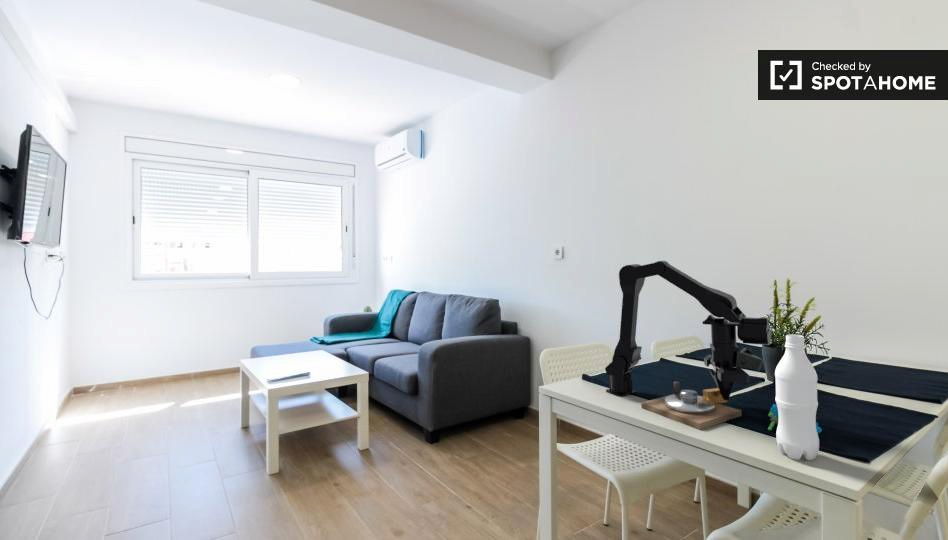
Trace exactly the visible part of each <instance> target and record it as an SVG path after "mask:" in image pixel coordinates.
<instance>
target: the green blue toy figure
mask: <svg viewBox="0 0 948 540" xmlns="http://www.w3.org/2000/svg"><path fill="white" fill-rule="evenodd" d="M767 416H768V417H770V419H769V421H770V424H769V426H768V428H767V430H768V431H770V430H771V431H772V430H773V428H774V426H775V424H776V425H778V420H779V416H778V407H777V404H775V403H773V405H772V406H771V407H770V409H769V412H768V414H767ZM816 430H817V434H818V435H819V434H821V432H822V431H823V429H822V427H820V426H819V423H818V422H817V421H816Z"/></svg>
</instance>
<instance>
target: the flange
mask: <svg viewBox="0 0 948 540" xmlns="http://www.w3.org/2000/svg"><path fill="white" fill-rule="evenodd" d="M680 392H681V394H674V393H673V394H674V395H673V394H669V395H670V396H669V395H666V396H667V397H666V398H665V405H666V406H667V407H668V408H670V409H672V410H675V411H679V412H683V413H691V414H703V413H709V412H712V411H714V409H715V404H717V403H719V404H723V403H728V401H729V400H724V399H723V397H722V395H721V393H720V391H719V389H718V387H716V388H708V389H702V396H701V395H698V392H697V391H696V390H693V389H680Z"/></svg>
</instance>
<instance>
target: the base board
mask: <svg viewBox="0 0 948 540" xmlns="http://www.w3.org/2000/svg"><path fill="white" fill-rule="evenodd" d="M680 386H681V383H680V381H676V380H675V381H673V394H672V395H674V394H681V387H680ZM670 395H671V394H669V395H665V396H662V397H658V398H654V399H650V400H646V401H642V402H641V403H640V404H641V409H643V410H646V411H648V412H652V413H654V414H656V415H660V416H662V417H664V418H668V419H670V420H673V421H675V422H679V423H681V424H683V425H686V426H689V427H691V428H694V429H697V430H702V429H706V428H709V427H712V426H715V425H719V424H721V423H722V424H723V423H724V422H727V420H728V421H730V420H729V419H731V420H734V419H737V418H740V417H742V410H741V409H739V408H735V407H731V406H730V405H729V406H728V405H725V404H723V403H717V404H715V409H714V411H712V412H709V413H703V414H691V413H683V412H679V411H675V410H672V409H670V408H668V407H667V406H666V405H665V398H666V397H667V396H670ZM733 418H734V419H733Z"/></svg>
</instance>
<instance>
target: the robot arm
mask: <svg viewBox="0 0 948 540" xmlns="http://www.w3.org/2000/svg"><path fill="white" fill-rule="evenodd" d="M654 276H660V277H661V278H662V279H664V280H665V281H666V282H669V283H670V284H672V285H673V286H675V287H677V288H678V289H680V290H682V291H683V292H685V293H686V294H688V295H689V296H691V297H693V298H694V299H695V300H696V301H698V303H699V304H700V305H701V307H703V309H705V310H706V311H707V312H709V315H707V318H706V319H704V320H703V321H702V324H703V325H709V326H710V329H711V331H710V332H711V334H710V335H711V343H709V348H710V349H711V354H707V355H706V356H705V357H704V358H703V362H704V363H703V364H704V365H705V367H710V365H711V366H712V369H711V370H709V373H710V374H711V376H712V379H713V380H714V383H715V385H716V388H718V389H719V391H720V393H721V395H722V397H723V399H724V400H728V401H729V399H730V396H731V392H732V390H733V386H734V383H738V384H739V383H740V384H747V383H750V375H749V374H748V373H747V372H746V371H745V370H744V369H743V368H742V366H743V367H746V368H749V369H753V371H757V372H760V370H761V367H762V364H763V362H764V360H763V358H760V357H759V356H758V355H755V354H753V351H752V350H751V349H750V348H746V347H743V348H742V349H741V348H740V347H739V346H738V345H737V340H739V341H741V342H742V343H743V344H748V345H749V344H752V345H761V346H762V345H764V346H765V345H766V346H769V345H771V340H772V329H771V328H770V322H769V317H748V316H746V314H745V313H744V312H743V311H742V310H741V308H739V306H738V304H737V299H736V298H735V297H734V296H733V295H732V294H730V293H726V292H724V291H722V290H720V289H716V288H712V287H710V286H708V285H705V284H704V283H701V282H700V281H698V280H696V279H695V278H693V277H692V276H690V275H688V274H687V273H684V272H683V271H681V270H680V269H678V268H677V267H675V266H673V265H671V264H670V263H669V262H668V261H667V260H658V261H655V262H651V263H648V264H643V265H641V264H639V263H635V264H627V265H624V266H622V267H621V268H620V269H619V272H618V280H619V281H618V282H619V286H620V290H621V293H622V303H621V317H620V329H619V340H618V341H617V345H616V346H615V349H614V351H613V355H612V361H611V362H610V363H609V364H607V366H605V367H604V370H605V372H606V376H607V375H608V377H609V380H608V381H609V383H608V384H609V388H608V389H607V388H606V389H605V392H606V393H609V394H612V395H615V396H617V397H624V396H628V395H632V394H636V393H637V392H636V390H633V379H632V373H630V372H632V371H633V370H634V367H635V366H636V365H638V363H639V362H640V360H642V356H641V353H642V348H643V347H642V346H640V345H639V346H638V345H637V342H636V333H637V325H638V324H637V322H638V310H639V309H638V308H639V300H640V299H639V298H640V297H639V296H640V293H641V291H642V289H643V287H644V284H645V281H646V278H649V277H654ZM736 327H737V328H736Z"/></svg>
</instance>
